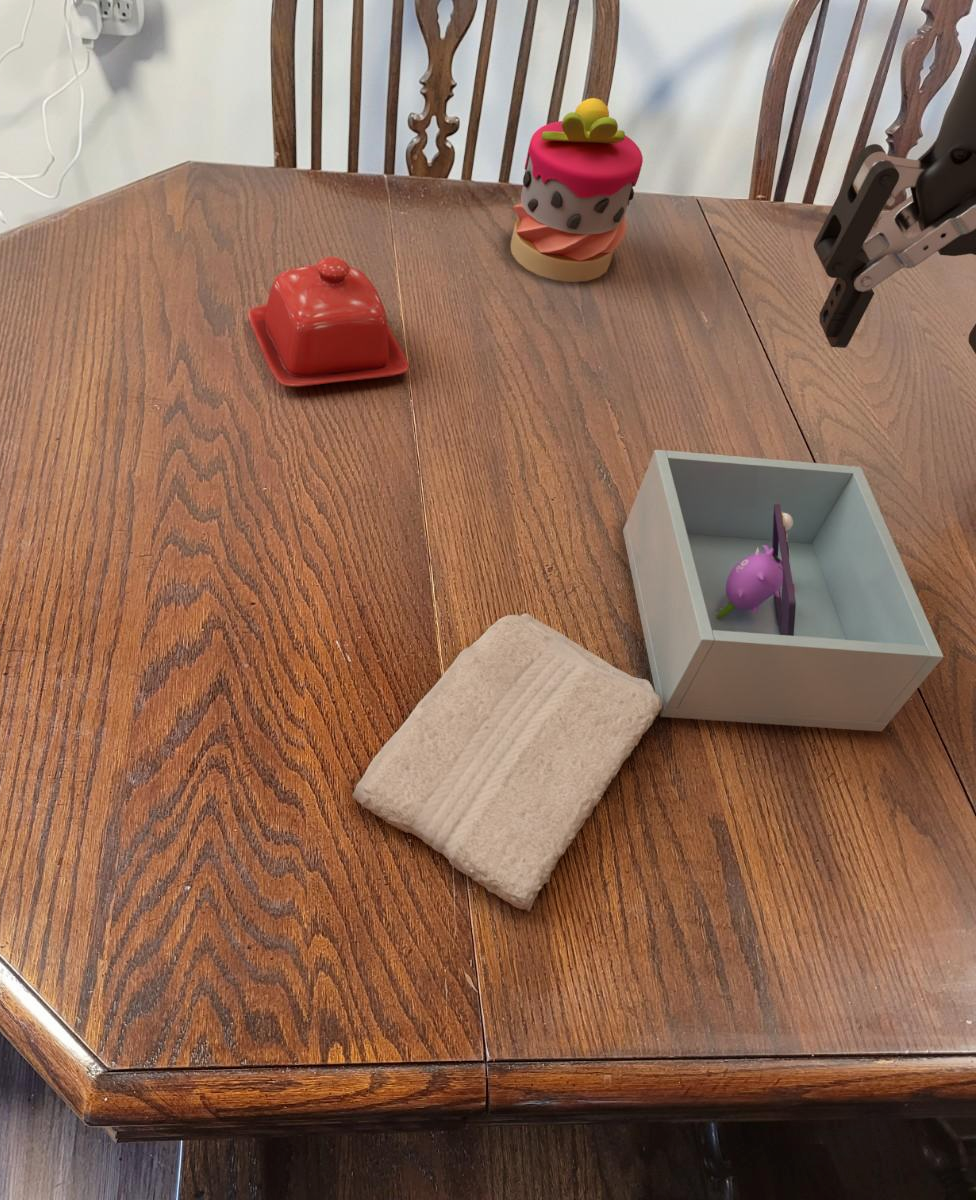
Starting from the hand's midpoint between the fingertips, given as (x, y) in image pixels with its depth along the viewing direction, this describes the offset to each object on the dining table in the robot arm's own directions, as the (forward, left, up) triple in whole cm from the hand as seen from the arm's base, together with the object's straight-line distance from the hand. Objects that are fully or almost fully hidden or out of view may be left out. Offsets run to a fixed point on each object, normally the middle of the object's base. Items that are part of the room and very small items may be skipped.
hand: (906, 345), depth 59 cm
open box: (+2, +3, -21) cm, 21 cm away
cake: (+10, -43, -21) cm, 49 cm away
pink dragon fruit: (+2, +3, -20) cm, 21 cm away
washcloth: (+19, +15, -21) cm, 33 cm away
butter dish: (+32, -24, -21) cm, 45 cm away
